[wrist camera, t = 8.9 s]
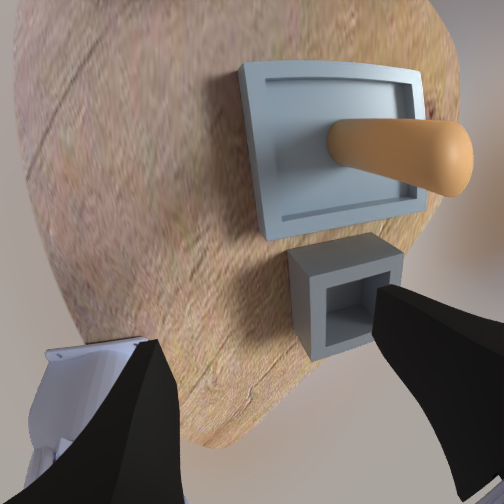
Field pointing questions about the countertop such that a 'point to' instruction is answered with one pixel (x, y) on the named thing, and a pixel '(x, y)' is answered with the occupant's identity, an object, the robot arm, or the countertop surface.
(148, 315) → the countertop surface
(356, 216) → the tray
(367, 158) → the orange pin
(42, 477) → the robot arm
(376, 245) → the pin cup
